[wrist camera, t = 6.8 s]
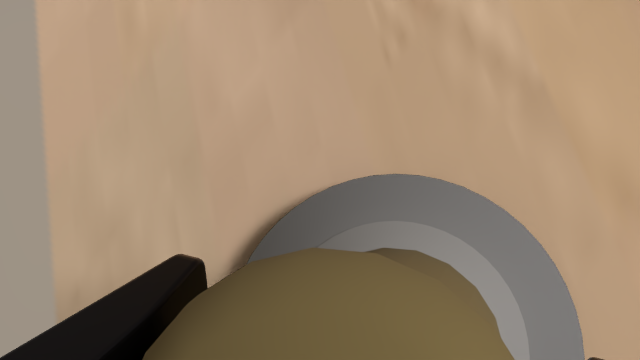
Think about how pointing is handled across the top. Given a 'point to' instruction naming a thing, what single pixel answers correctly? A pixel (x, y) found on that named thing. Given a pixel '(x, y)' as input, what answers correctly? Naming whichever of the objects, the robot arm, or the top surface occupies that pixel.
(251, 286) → the cork
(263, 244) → the coaster
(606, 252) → the top surface
